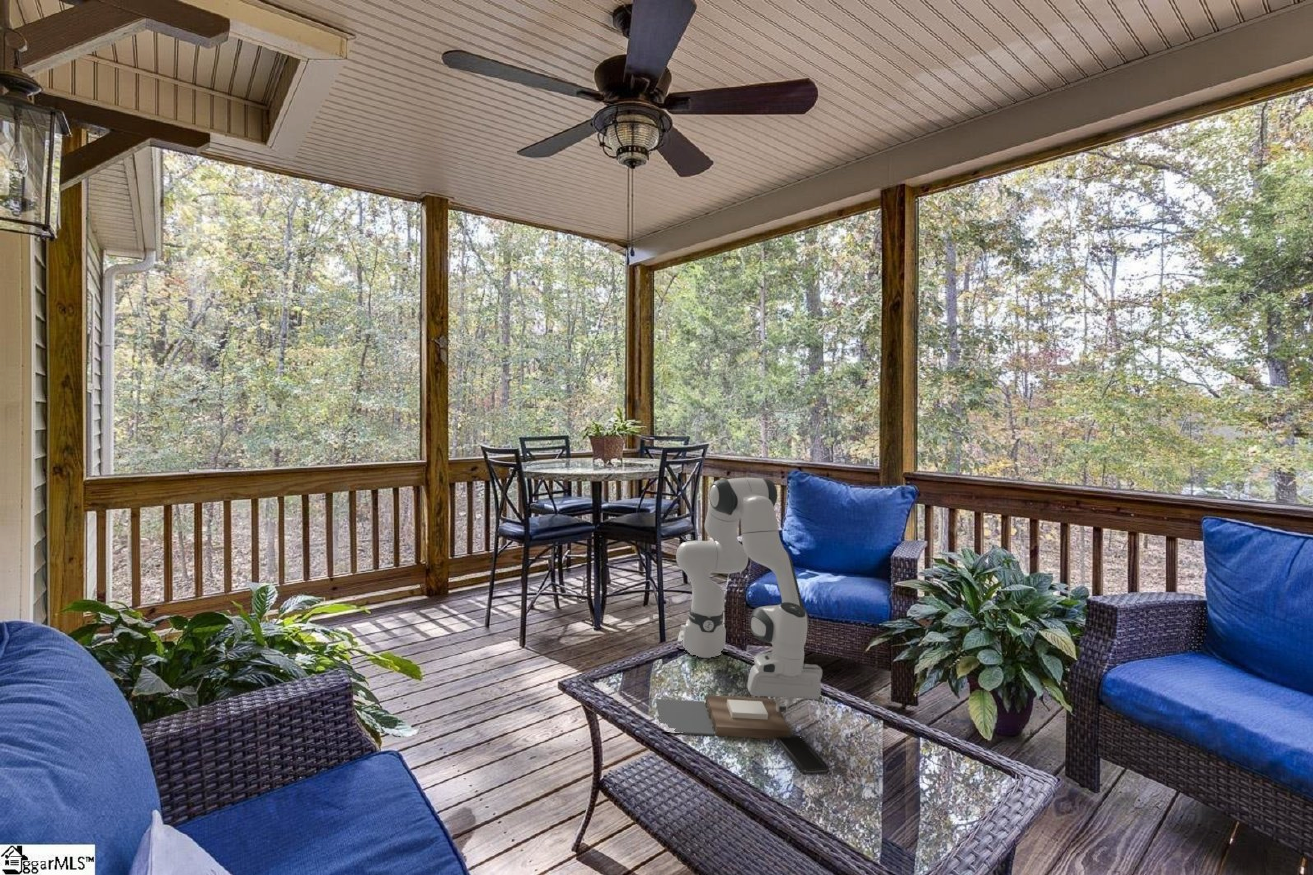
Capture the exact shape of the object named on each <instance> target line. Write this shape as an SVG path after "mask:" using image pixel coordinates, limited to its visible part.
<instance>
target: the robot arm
mask: <svg viewBox="0 0 1313 875" xmlns="http://www.w3.org/2000/svg"><path fill="white" fill-rule="evenodd" d="M708 500H709V505H708V509H707V513H706V517H705V521H704V530H705V532H706V534H707V535H708V536H709V537H710V538H711V539H712V541H711V540H688V541H685V542H684V541H683V542H682V543H680V545H678V547H677V550H676V553H675V559H676V560H675V561H676V563H677V565H678V567H679V568H680V570H682V571H683V572H684V573H685V575H686V576H687V577H688V579H689V581H690V585H691V594H692V595H691V606H690V609H689V611H688V618H687V620H686V621H685V624H681V625H680V631H679V632H678V637H677V641H682V640H683V647H684V648H685V650H687V651H688V652H689V653H690V654H689V655H691V656H693V655H696V656H695V657H697V656H698V657H697V658H704V659H712V658H711V657H715V656H717V655H719V654H720V653H721V651H722V650H723V648H724V647H725V645H726V635H727V634H726V633H727V629H726V628H725V626H724V625H723V621H724V611H723V610H724V601H725V600H724V599H725V593H724V592H725V591H724V589H723V588H722V586H721V585H720V584H718V583H716V582H715V581H713V580H711V574H729V575H731V574H735V573H736V574H737V573H740V572H741V573H742V572H744V571H745V569H746V568H747V565H748V563H749V559H750V560H752V561H753V562H755V563H756V564H759V565H761V566H763V567H766V568H768V569H770V570H771V571H772V573H774V575H775V578H776V581H777V585H778V590H779V593H780V597H781V603H779V604H777V605H775V604H774V605H764V606H759V607H756V608H754V609H753V611H752V612H751V614H750V616H749V628H750V632H751V634H752V635H753V637H754V638H756V639H757V640H759V641H761V642H764V643H768V644H769V643H770V644H771V645H772V648H771V651H769V652H763V653H760V654H757V655H754V657H753V661H754V665H752V667H751V669H750V671H749V674H748V678H747V685H746V686H747V690H748V693H749V694H750V695H751V696H754V697H756V696H757V697H768V698H769V697H770V698H771V697H772V699H774V700H775V702H776V711H777V712H781V713H788V711H789V707H790V705H791V704H792V703H793V701H794V699H804V700H805V699H807V700H818V699H819V698H820V697H821V689H822V686H821V685H822V684H821V682H822V681H821V680H822V679H823V669H822V668H821V666H819V665H818V664H809V663H804V660H805V651H804V650H805V649H804V648H805V645H806V642H807V635H808V628H809V624H810V623H809V616H808V612H807V610H806V607H805V606H804V603H803V599H802V595H801V591H800V588H799V584H798V579H797V576H796V572H795V567H794V565H793V564H794V563H793V560H792V558H791V555H790V553H789V552H788V551H787V550H786V549H785V547H784V546H783V544H782V541H781V537H780V532H779V525H778V519H777V515H776V510H775V508H774V507H775V505H776V503H777V500H778V490H777V487H776V484H775V483H774V482H773V480H771V479H768V478H764V477H759V478H757V477H747V476H746V477H736V478H735V477H734V478H727V479H726V478H721V479H720V478H719V479H717V480H715V481H713V482H712V483H711V485H710V487H709V491H708ZM739 524H740V529H741V530H740V531H741V533H740V534H741V543H740V541H739V540H738V537H737V536H738V535H737V533H738V528H739ZM685 639H686V640H685ZM715 658H716V657H715ZM781 698H786V699H785V701H784V702H782V703H781V702H779V701H781Z"/></svg>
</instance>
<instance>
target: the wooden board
mask: <svg viewBox="0 0 1313 875" xmlns="http://www.w3.org/2000/svg"><path fill="white" fill-rule="evenodd" d="M705 696H706V697H705V706H706V709H707V712H708V716H709V719H710V722H711V725H712V728H713V732H714V736H717V737H732V738H733V737H735V738H751V739H753V738H754V739H769V740H770V739H772V740H776V738H777V737H789V738H790V736H791V734H792V733H791V732H792V730H791V728H790V726H789V724H788V723H787V721H786V719H785V717H784V714H783V712H777V711H776V702H775V700H774V698H769V697H766V698H764V697H749V696H748V697H747V696H731V695H715V694H712V695H710V694H706V695H705ZM727 699H728V700H746V701H762V703H763V705H764V707H765V709H766V711H767V713H768V720H767V719H748V718H732V717H731V714H730V712H729V709H728V707H727Z"/></svg>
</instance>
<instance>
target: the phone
mask: <svg viewBox="0 0 1313 875" xmlns="http://www.w3.org/2000/svg"><path fill="white" fill-rule="evenodd" d="M800 737H801V738H800ZM775 741H776V743H777V745H778V746H779V747H780V748H781V750H782V751H783V752H784V754H785V755H786V756H787V757H788V759H790V761H791V762H792V764H793V765H794V766H795V767H796V768H797V770H798V771H799V772H800V773H801V774H803V775H814V774H815V775H817V774H828V773H829V772H830V767H829V765H828V764H827V763H826V761H824V760H823V759H822V757H821V756H820V755H819V754H818V753H817V752H816V750H815V749H814V748H813V747H812V746H811V745H810V744H809V742H807V740H806V739H805V738H804V737H803V736H801V735H790V738H789V737H777V738H776V739H775Z"/></svg>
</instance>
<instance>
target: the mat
mask: <svg viewBox="0 0 1313 875" xmlns="http://www.w3.org/2000/svg"><path fill="white" fill-rule="evenodd" d="M655 701H656V707H657V708H658V709H657V715H658V714H659V715H658V719H661V720H660V721H661V722H659V724H660V723H666V724H668V727H669V728H676V729H675V730H674V731H675V732H683V733H687V734H686V735H693V736H694V735H695V736H696V735H697V736H713V737H714V736H715V731H714V728H713V725H712V722H711V719H710V715H709V712H708V709H707V706H706V702H705V701H703V700H702V701H701V700H683V699H668V698H667V699H665V698H656V700H655Z"/></svg>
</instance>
